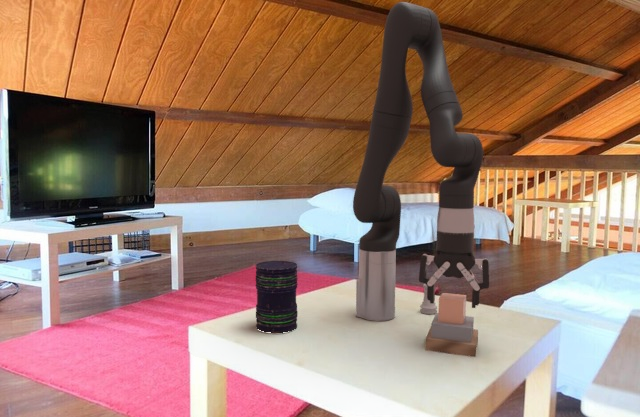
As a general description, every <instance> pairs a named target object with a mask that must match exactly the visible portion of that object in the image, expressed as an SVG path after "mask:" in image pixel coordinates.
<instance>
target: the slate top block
mask: <svg viewBox="0 0 640 417" xmlns="http://www.w3.org/2000/svg"><path fill="white" fill-rule="evenodd" d="M438 316H439V312H436V314H434V317H433V319H432V321H431V323H430V327H431V338H437V339H445V340H453V341H461V342H469V343H471V340H472V335H473V329H474V319H475V318H474V316H468V315H466V318H465V321H464V323H463V325H462V324H454V323H446V322H438Z"/></svg>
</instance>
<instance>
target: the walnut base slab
mask: <svg viewBox="0 0 640 417" xmlns="http://www.w3.org/2000/svg"><path fill="white" fill-rule="evenodd" d="M478 342H479V329H477V328H476V329H474V328H473V335H472V340H471V343H469V342H461V341H453V340H445V339H437V338H431V326H429V330H428V332H427V334H426V336H425V340H424V350H425V351H428V352H437V353H442V354H443V353H444V354H451V355H458V356H464V357H465V356H466V357H474V358H476V356H477V355H476V354H477V350H478Z"/></svg>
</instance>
